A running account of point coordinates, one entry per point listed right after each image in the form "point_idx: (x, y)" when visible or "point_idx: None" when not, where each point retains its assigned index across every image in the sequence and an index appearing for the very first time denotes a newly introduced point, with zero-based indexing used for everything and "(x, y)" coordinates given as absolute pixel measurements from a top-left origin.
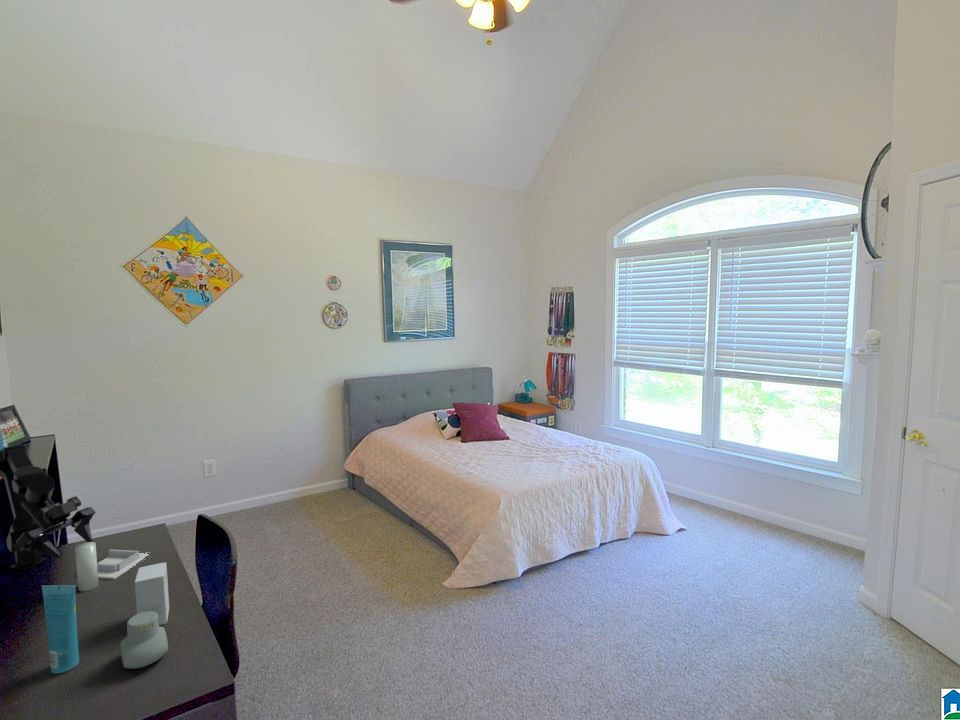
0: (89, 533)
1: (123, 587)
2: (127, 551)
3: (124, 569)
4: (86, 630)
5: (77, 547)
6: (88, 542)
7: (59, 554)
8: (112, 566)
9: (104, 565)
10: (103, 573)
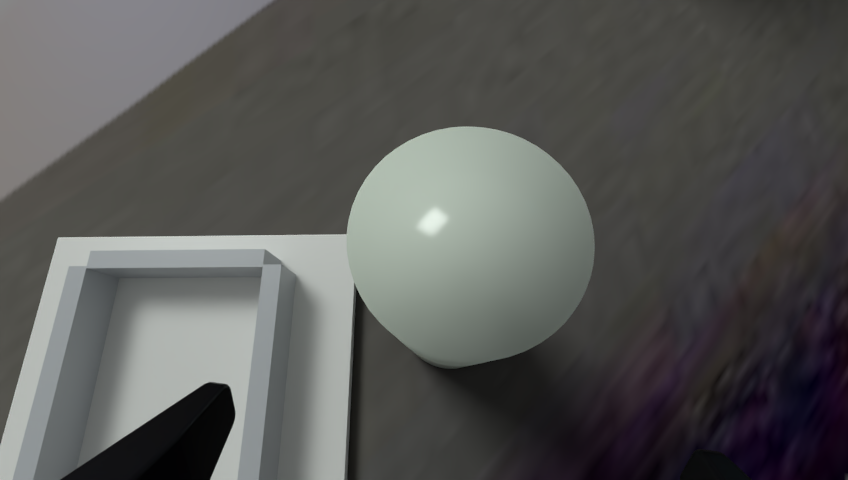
0: (95, 476)
1: (432, 128)
2: (66, 346)
3: (266, 244)
4: (754, 27)
5: (543, 299)
6: (366, 279)
7: (719, 459)
8: (281, 286)
9: (273, 348)
10: (315, 337)
